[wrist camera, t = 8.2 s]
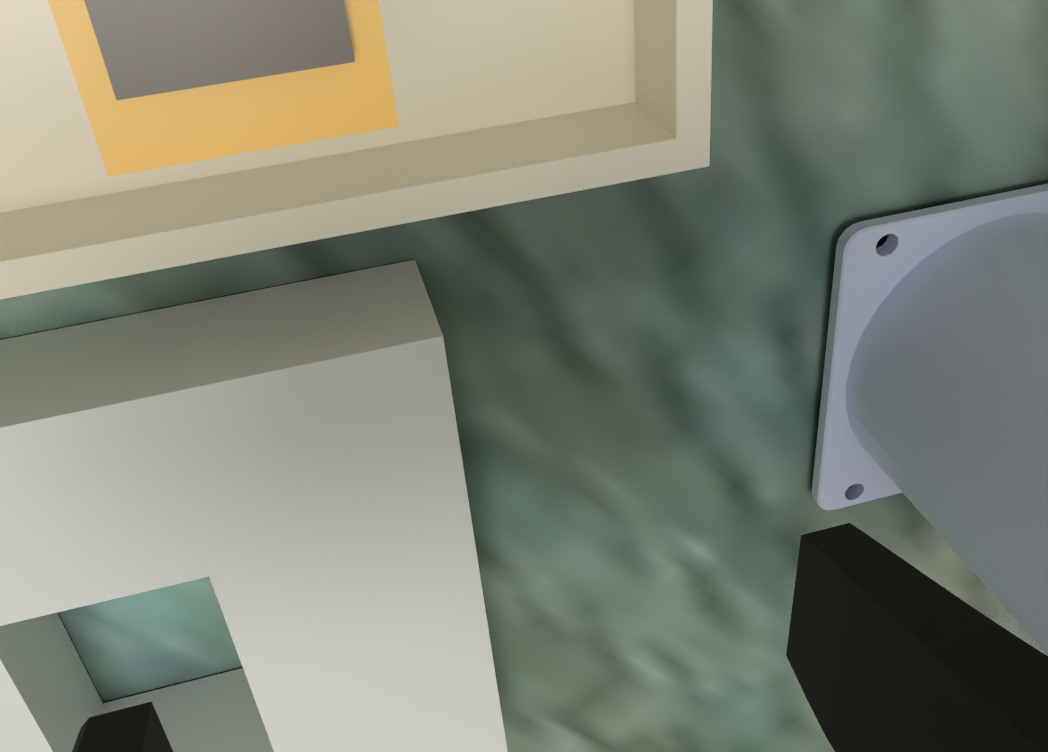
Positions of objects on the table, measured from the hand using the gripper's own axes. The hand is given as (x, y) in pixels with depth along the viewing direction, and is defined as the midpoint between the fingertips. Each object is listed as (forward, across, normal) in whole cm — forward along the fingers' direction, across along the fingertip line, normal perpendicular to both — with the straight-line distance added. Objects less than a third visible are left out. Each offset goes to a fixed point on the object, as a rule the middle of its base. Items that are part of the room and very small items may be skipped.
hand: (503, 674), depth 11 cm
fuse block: (+10, +6, +7) cm, 14 cm away
